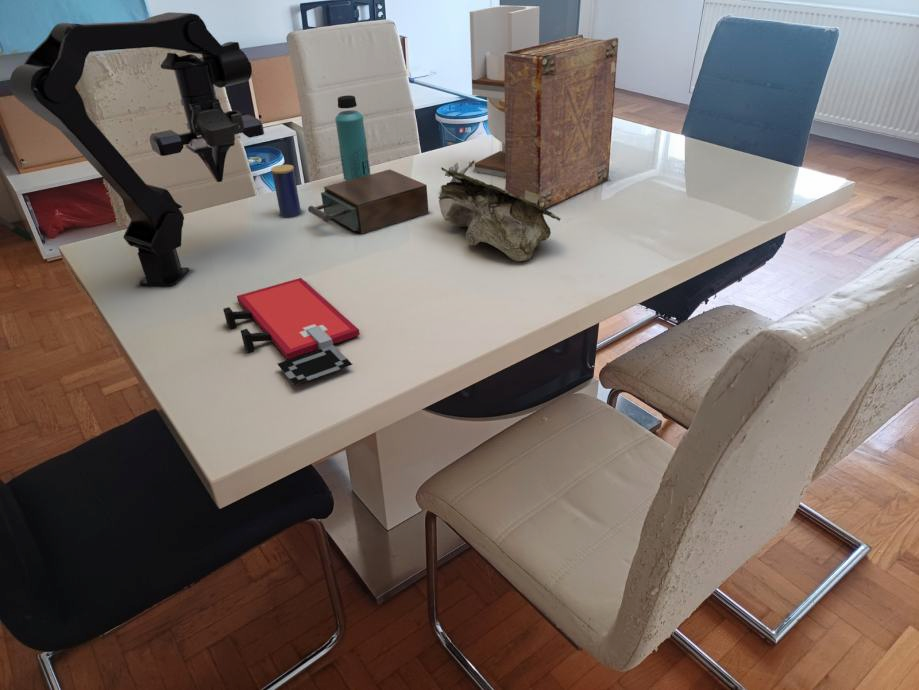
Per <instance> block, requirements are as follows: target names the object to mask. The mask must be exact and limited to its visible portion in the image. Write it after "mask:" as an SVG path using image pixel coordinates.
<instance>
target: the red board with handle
mask: <svg viewBox="0 0 919 690" xmlns="http://www.w3.org/2000/svg"><path fill="white" fill-rule="evenodd" d="M236 299H237V302H238V304H239V305H240V306H241V307H242V308H243V309H244V310H240V311H239V310H238V311H233V310H232V309H231V307H230V306H228V307H224V308H223V315H224V317H225V323H226V325H227V326H228V328H229V329H230V330H233V329H237V322H236V320H253V321H254V322H255V323H256V324H257V325H258V326H259V328H260V329H261V330H262V331H263V332H252V333H251V331H249V329H248V328H244V329H241V330H240V334H241V339H242V343H243V347H244V349H245V350H246V351H247V352H248V353H252V352H253V351H256V350H255V349H256V348H255V346H254V343H257V342H269V341H271V342H272V343H273V344H274V345H275V346H276V348H277V349H278V350H279V352H281V353H282V354H283V356H284V357H285V358H286V360H284V361H280V362H278V363H277V366H278V367H279V368H280V370H281V371H282V372H283V373H284V375H285V376H286V377H287V378H288V379H289V381H290V382H291V383H292V385H294V386H297V385H300V384H303V383H305V382H308V381H311V380H313V379H316V378H319V377H322V376H325V375H328V374H330V373H334V372H336V371H339V370H341V369H344V368H347V367H350V366H353V362H351V361H350V360H349V359H348V358H347V357H346V356H345V355H344V354H343V353H342V352H341V351H340V350H339V349H338V347H336V346H335V345H334V344H337V343H340V342H341V343H342V342H344V341H346V340H349V339H353V338H355V337H359V336H361V334H360V329H359V328H358V327H357V326H356V325H354V323H353V322H351V321H350V320H349V319H348V318H347V317H346V316H344V315H343V314H342V313H341V312H340V311H339V310H338V309H337V308H335V306H333V305H332V304H331V303H330V302H329V301H328V300H327V299H325V298H324V297H323V296H322V295H321V294H320V293H319V292H318V291H316V290H315V289H314V288H313V287H312V286H311V285H310V284H309V283H307V282H306V281H305V280H304V279H303V278H302V277H298V278H295V279H292V280H288V281H284V282H281V283H277V284H274V285H270V286H267V287H263V288H259V289H255V290H253V291H248V292H245V293H241V294H239V295H236Z"/></svg>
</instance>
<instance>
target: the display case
mask: <svg viewBox="0 0 919 690" xmlns="http://www.w3.org/2000/svg"><path fill="white" fill-rule="evenodd" d="M540 9H541V6H538V5H537V6H535V5H533V6H532V5H499V4H498V5H494V6H488V7H484V8H479V9H476V10H475V9H474V10H471V11H469V35H470V37H469V39H470V67H471V68H470V69H471V96H475V97H485V98H486V103H487V104H486V106H487V129H488V131H489V133H490V134H491V136H492V137H494V138H495V139H496V140H497V141H499V142H501V150H499V151H497V152H495V153H493V154H490V155H488V156H487V157H485V158H483V159H480V160H478V161H475V162H474V164H473V166H474V172H475V173H480V174H486V175H491V176H495V177H502V178H506V173H505V77H504V54H505V53H507V52H511V51H515V50H519V49H523V48H527V47H532V46H536V45H540V11H541V10H540Z"/></svg>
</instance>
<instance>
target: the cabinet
mask: <svg viewBox="0 0 919 690" xmlns="http://www.w3.org/2000/svg"><path fill="white" fill-rule="evenodd" d="M427 185H428V184H426V183H423V182H421V181H419V180H416V179H414V178H412V177H410V176H406V175H405V174H402V173H400V172H397V171H395V170H393V169H386V170H382V171H379V172H374V173H370V175H367V176H363V177H359V178H355V179H352V180H348V181H345V180H344V181H341V182H337V183H334V184H330V185H329V184H328V185H326V186H323V189H324V192H325V191H326V192H328V193H330V194H332V195H333V194H334V195H336V196H338V197H340V198H342V199H344V200H345V201H347V202H349V203H351V204H353V205H355V206H357V211H358V219H359V228H360V230H357V231H356V232H357V233H359V234H360V235H365V234H367V233H370V232H374V231H377V230H380V229H383V228H387V227H389V226H393V225H396V224H399V223H402V222H406V221H408V220H409V221H410V220H412V219H415V218H419V217H422V216H425V215H428V214H429V213H430V212H429V200H428V199H429V198H428V186H427Z"/></svg>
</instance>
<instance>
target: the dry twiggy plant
mask: <svg viewBox="0 0 919 690" xmlns="http://www.w3.org/2000/svg"><path fill="white" fill-rule="evenodd" d="M474 163H476V161H475V160H472V161H469V162H468V165H467V166H466V167H463V168H462V169H461V170H459V168H460V166H459V162H455V163H454V164H453V166H449V167H448V170H450V171H451V170H453V171H456V172H458V173H462V174H464V175H466V173H467V171H468V170H469V169H470V168H471V167H472V166H474ZM458 170H459V171H458ZM447 176H449V177H448V178H450V177H451V176H450V175H449V174H447V172H446V171H445V173H444V177H447ZM449 182H461V181H460V180H459V181H458V179H455V178H454V177H451V180H450V181H449Z"/></svg>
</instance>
